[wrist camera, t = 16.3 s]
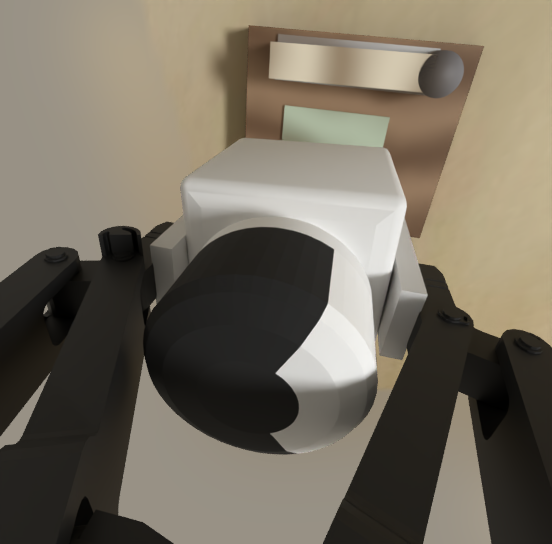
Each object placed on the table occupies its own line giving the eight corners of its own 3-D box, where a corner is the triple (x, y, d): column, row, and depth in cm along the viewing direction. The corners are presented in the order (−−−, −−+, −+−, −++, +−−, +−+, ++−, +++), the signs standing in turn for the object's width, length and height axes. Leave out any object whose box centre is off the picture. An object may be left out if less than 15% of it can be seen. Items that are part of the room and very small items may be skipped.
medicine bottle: (242, 263, 21) (134, 456, 11) (238, 135, 17) (69, 249, 7) (365, 278, 20) (374, 509, 10) (390, 146, 16) (448, 296, 6)
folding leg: (461, 51, 26) (470, 52, 24) (448, 96, 28) (455, 100, 26) (277, 37, 28) (270, 36, 26) (274, 80, 30) (268, 82, 28)
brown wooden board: (254, 26, 30) (248, 25, 28) (476, 46, 28) (484, 46, 26) (248, 203, 39) (242, 211, 37) (416, 229, 36) (419, 238, 35)
